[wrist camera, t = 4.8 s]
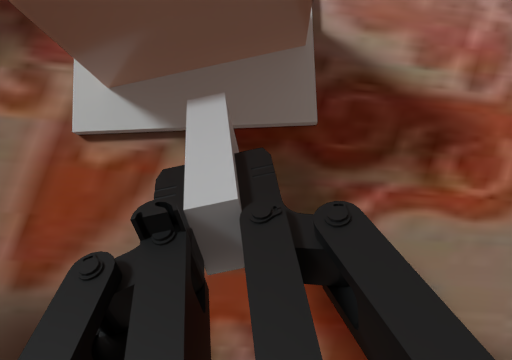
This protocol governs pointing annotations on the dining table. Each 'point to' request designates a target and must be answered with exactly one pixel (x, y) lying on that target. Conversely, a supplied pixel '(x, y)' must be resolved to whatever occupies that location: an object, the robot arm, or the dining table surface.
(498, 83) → the dining table surface
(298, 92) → the mat
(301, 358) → the robot arm
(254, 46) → the tile
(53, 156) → the dining table surface
